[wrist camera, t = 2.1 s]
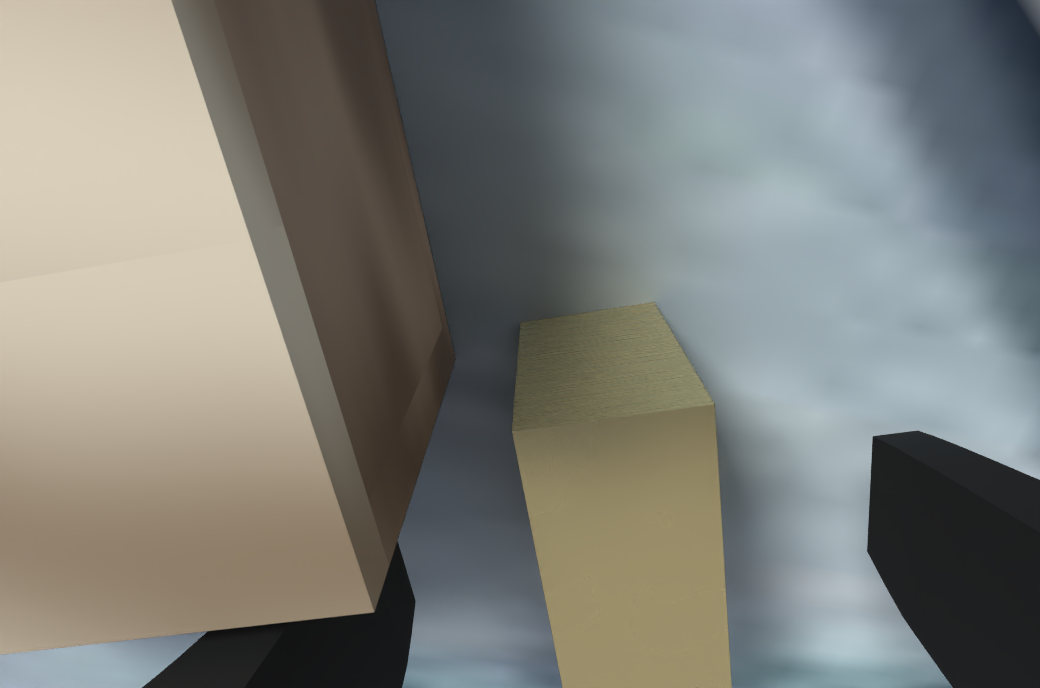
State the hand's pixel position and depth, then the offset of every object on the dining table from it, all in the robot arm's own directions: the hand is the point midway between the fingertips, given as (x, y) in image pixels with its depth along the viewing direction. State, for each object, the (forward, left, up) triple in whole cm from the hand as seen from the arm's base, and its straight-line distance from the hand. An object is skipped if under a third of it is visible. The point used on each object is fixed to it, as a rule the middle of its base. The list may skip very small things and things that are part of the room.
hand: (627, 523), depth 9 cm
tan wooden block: (0, 0, -3) cm, 3 cm away
